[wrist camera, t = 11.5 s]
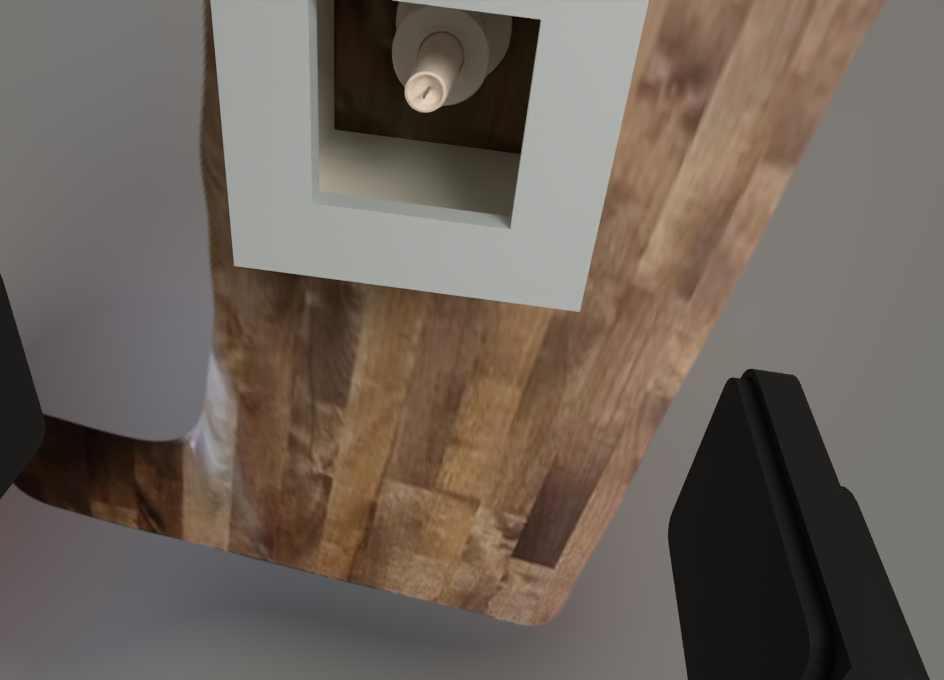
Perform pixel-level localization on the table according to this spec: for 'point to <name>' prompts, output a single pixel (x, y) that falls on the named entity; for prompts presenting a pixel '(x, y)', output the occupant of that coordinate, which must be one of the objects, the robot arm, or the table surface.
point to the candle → (446, 52)
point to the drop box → (421, 159)
